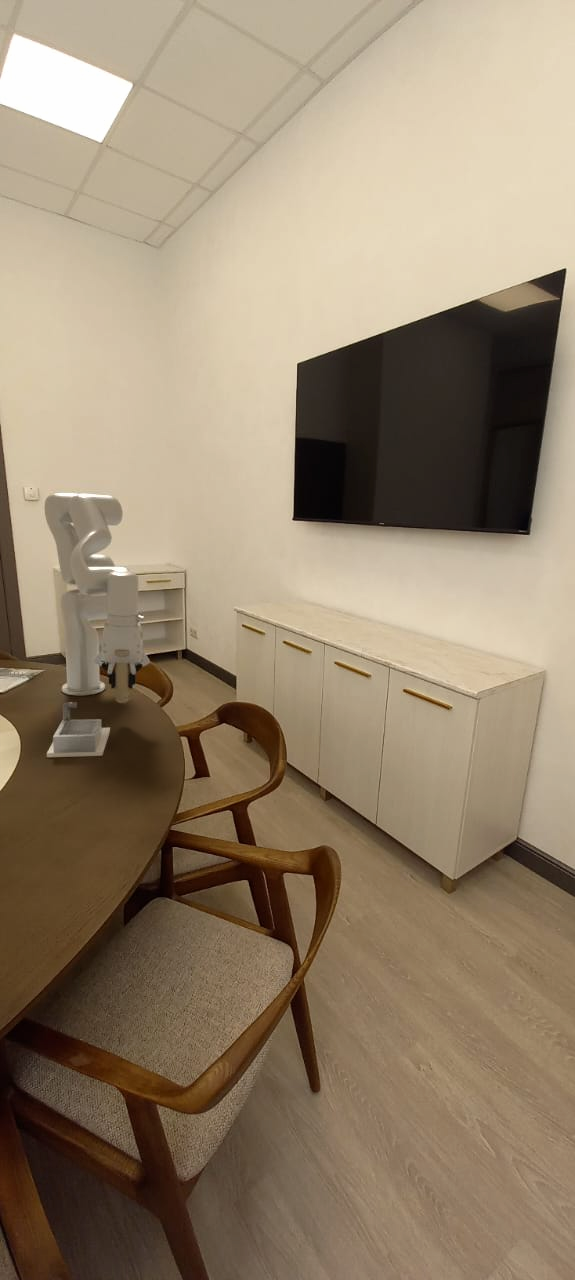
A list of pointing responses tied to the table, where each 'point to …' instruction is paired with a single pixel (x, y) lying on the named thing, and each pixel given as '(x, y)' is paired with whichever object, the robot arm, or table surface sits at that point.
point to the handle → (122, 678)
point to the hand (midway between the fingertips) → (122, 686)
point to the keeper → (78, 736)
